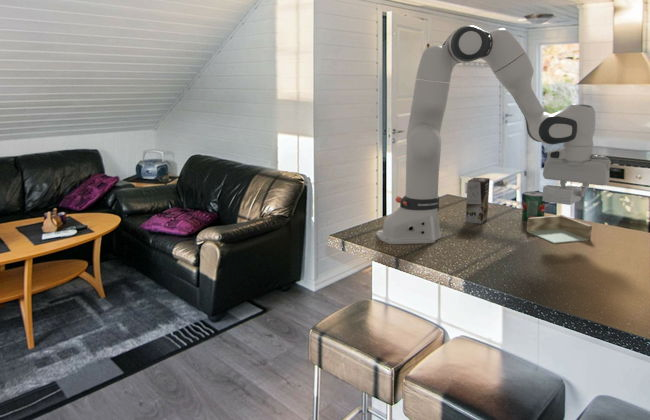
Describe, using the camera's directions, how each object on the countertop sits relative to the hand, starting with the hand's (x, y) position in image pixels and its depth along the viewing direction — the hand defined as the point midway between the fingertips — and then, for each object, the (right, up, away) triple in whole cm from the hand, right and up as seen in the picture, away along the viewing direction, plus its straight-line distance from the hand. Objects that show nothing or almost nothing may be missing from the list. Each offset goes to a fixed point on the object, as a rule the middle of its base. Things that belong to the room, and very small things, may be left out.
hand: (573, 195), depth 172 cm
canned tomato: (-4, -10, +25) cm, 27 cm away
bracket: (-4, -2, +1) cm, 4 cm away
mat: (-2, -14, +6) cm, 15 cm away
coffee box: (-24, -9, +28) cm, 38 cm away
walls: (-2, -14, +6) cm, 15 cm away
